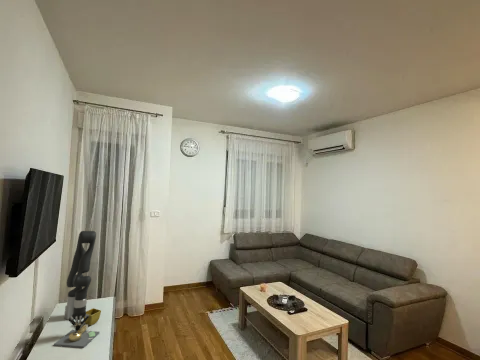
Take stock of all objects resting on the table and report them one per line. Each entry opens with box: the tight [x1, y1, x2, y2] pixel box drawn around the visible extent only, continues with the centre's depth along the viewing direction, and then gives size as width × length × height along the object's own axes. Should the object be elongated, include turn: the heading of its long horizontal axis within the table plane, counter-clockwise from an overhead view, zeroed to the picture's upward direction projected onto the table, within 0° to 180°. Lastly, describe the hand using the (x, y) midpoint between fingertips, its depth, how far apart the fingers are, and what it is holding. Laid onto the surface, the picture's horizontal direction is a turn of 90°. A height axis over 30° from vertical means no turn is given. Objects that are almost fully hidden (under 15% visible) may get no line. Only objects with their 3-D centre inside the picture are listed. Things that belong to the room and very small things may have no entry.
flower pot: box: [83, 307, 102, 326], centre depth 186 cm, size 9×9×9 cm
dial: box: [69, 323, 89, 342], centre depth 168 cm, size 15×7×4 cm, turn 178°
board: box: [53, 329, 100, 349], centre depth 166 cm, size 21×18×2 cm
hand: (77, 330), depth 171 cm, fingers closed
